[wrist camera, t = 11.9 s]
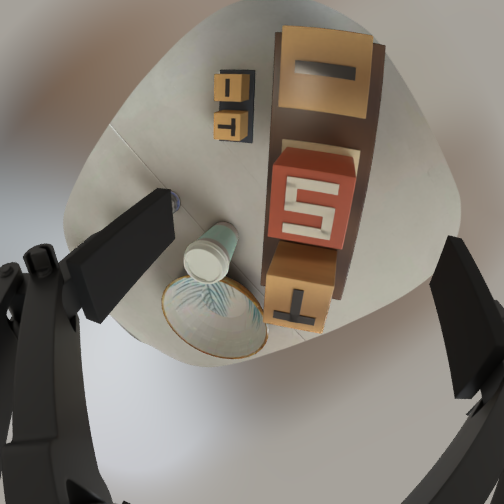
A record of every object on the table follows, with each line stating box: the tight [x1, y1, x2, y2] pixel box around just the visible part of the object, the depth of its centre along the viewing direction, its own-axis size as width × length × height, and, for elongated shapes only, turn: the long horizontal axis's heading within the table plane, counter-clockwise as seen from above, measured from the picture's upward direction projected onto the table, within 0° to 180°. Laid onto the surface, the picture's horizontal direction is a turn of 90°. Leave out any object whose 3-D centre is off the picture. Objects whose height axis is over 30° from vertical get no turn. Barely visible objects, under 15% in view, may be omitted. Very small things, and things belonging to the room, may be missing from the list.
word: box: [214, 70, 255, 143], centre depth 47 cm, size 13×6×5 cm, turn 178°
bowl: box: [162, 275, 268, 359], centre depth 70 cm, size 25×25×8 cm
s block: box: [268, 147, 356, 249], centre depth 19 cm, size 4×4×5 cm
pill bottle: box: [171, 191, 180, 213], centre depth 60 cm, size 5×5×8 cm
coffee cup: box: [183, 222, 239, 284], centre depth 59 cm, size 8×9×12 cm
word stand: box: [261, 25, 385, 334], centre depth 32 cm, size 20×7×37 cm, turn 178°
